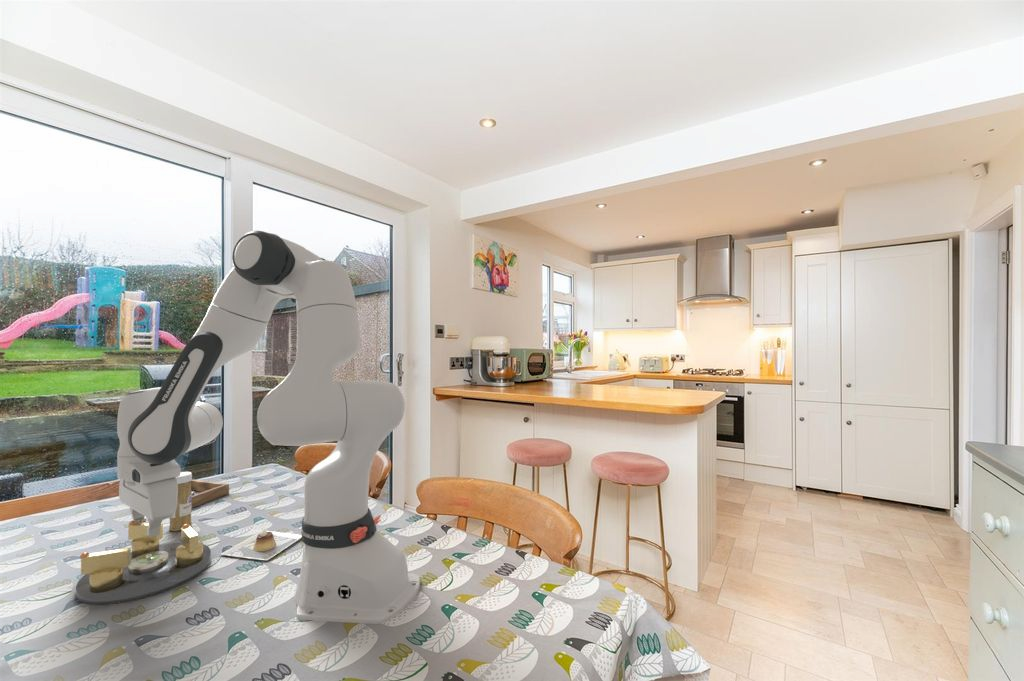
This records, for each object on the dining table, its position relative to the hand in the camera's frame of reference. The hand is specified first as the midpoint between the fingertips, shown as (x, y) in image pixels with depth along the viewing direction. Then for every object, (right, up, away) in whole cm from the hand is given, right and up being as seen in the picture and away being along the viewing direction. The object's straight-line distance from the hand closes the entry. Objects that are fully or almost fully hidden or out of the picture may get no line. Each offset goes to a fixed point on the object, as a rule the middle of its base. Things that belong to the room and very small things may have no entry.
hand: (146, 531), depth 89 cm
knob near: (+12, -5, -3) cm, 13 cm away
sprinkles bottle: (-6, -7, +17) cm, 19 cm away
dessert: (+21, -8, +7) cm, 23 cm away
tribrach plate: (+5, -7, -5) cm, 10 cm away
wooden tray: (-19, -7, +34) cm, 40 cm away
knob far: (0, -5, 0) cm, 5 cm away
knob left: (+3, -5, -12) cm, 13 cm away
